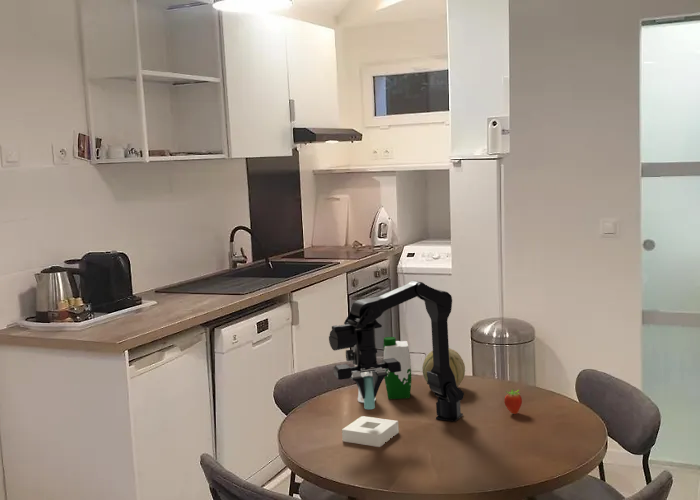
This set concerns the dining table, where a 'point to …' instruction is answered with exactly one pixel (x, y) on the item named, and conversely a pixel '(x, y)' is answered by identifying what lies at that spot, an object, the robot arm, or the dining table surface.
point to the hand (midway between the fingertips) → (368, 397)
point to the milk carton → (400, 381)
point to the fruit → (513, 401)
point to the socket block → (370, 431)
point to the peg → (368, 392)
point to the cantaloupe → (455, 365)
